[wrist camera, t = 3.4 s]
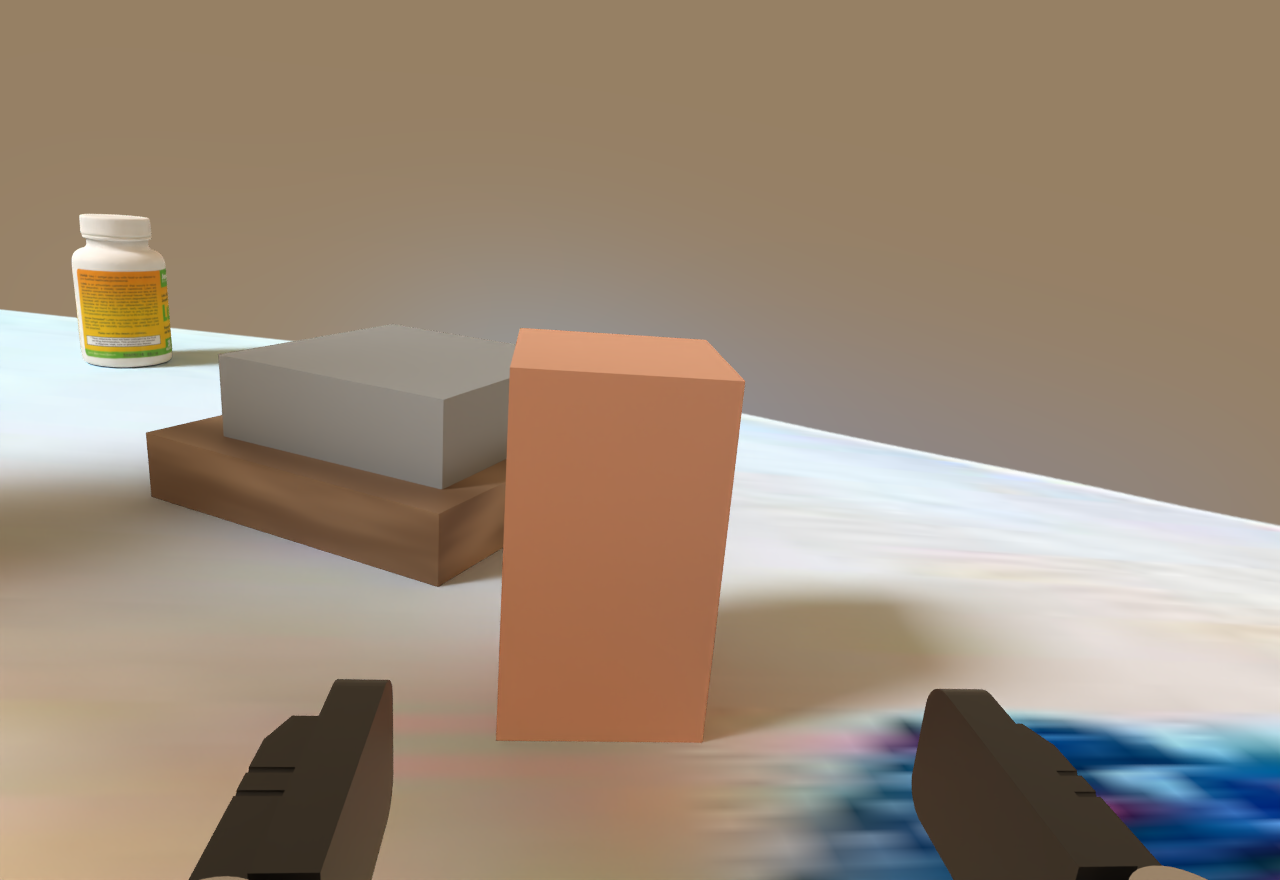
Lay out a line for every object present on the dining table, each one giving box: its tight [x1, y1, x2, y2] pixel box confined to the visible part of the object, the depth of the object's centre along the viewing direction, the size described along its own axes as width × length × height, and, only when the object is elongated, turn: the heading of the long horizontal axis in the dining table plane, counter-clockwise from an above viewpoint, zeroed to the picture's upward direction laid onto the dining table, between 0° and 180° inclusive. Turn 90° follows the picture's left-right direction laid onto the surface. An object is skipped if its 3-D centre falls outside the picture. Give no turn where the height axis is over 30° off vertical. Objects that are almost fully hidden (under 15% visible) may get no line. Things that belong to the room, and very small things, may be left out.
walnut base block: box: [146, 415, 506, 587], centre depth 39 cm, size 15×15×4 cm
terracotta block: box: [496, 328, 745, 743], centre depth 23 cm, size 6×6×10 cm
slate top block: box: [218, 324, 516, 489], centre depth 38 cm, size 11×11×4 cm
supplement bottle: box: [72, 214, 172, 367], centre depth 57 cm, size 5×5×10 cm
